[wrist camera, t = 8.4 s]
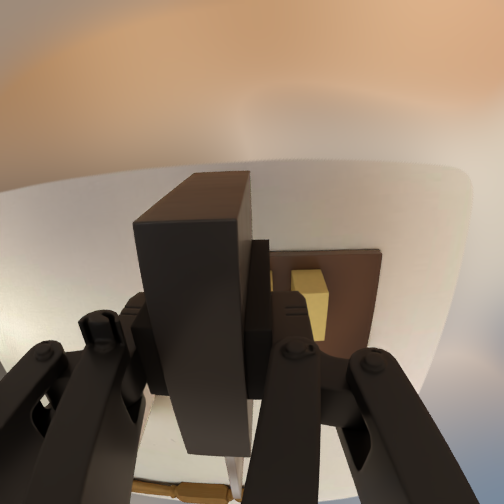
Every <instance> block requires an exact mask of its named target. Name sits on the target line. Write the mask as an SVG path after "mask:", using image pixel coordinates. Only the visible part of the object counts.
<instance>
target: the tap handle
mask: <svg viewBox="0 0 504 504" xmlns="http://www.w3.org/2000/svg"><path fill="white" fill-rule="evenodd" d="M131 492H137V493H145V494H154V495H164V496H171V497H172V498H176V497H177V498H178V499H179V500H181V501H182V502H187V503H199V504H228V502H229V501H231V500H233V499H234V498H233V495H232V491H231V489H229V488H228V486H226V485H224V484H203V483H188V482H181V483H180V484H179V485H178V486H176V485H171V486H167V485H160V484H154V483H148V482H143V481H138V480H133V483H132V490H131ZM243 492H244V488H242V492H241V499H235V500H236V501H237V502H241V501H242V497H243Z"/></svg>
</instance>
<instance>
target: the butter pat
mask: <svg viewBox="0 0 504 504" xmlns="http://www.w3.org/2000/svg"><path fill="white" fill-rule="evenodd" d="M291 291H299V292H300V293H301V294H302V295H303V296H304V297H305V299H306V303H307V308H308V313H309V318H310V323H311V328H312V333H313V338H314V341H324V339H325V330H326V321H327V311H328V300H329V292H328V289H327V286H326V283H325V280H324V277H323V274H322V272H321V270H320V269H315V270H292V271H291Z"/></svg>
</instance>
